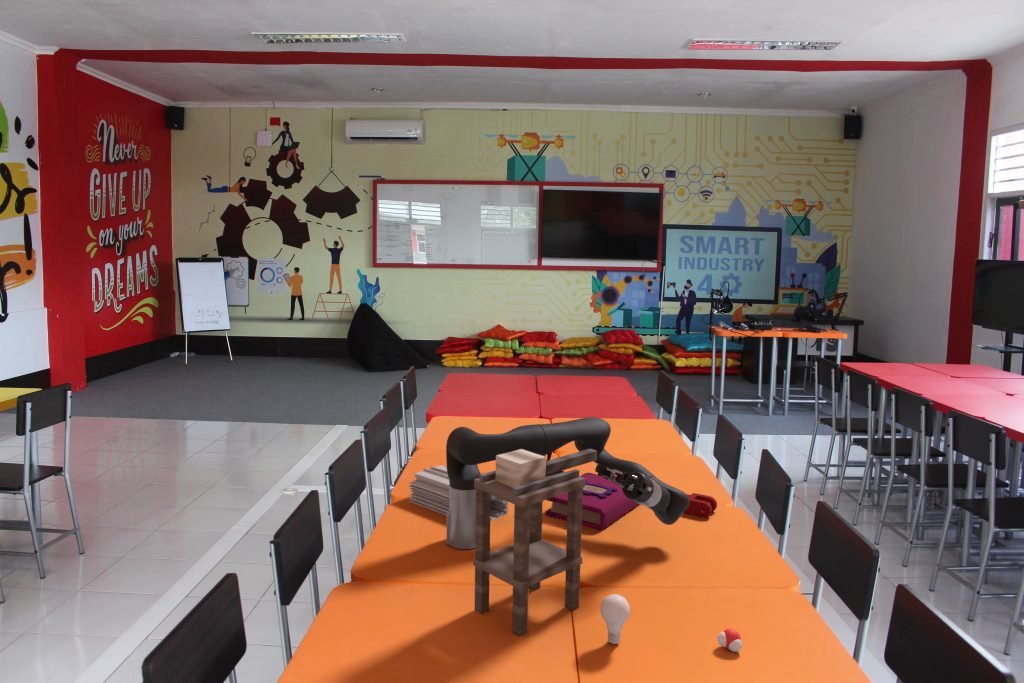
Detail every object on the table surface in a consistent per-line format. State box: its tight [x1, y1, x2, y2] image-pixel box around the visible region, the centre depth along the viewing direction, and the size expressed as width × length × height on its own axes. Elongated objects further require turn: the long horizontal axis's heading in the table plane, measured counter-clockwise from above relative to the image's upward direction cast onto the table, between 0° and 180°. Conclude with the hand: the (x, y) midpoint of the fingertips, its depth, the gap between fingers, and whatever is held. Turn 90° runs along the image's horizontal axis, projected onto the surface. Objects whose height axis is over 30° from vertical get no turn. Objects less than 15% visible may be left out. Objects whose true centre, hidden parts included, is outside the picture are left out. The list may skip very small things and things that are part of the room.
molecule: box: [716, 628, 743, 653], centre depth 162 cm, size 5×5×4 cm
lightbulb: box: [600, 593, 631, 645], centre depth 162 cm, size 6×6×11 cm
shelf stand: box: [472, 468, 585, 638], centre depth 175 cm, size 20×16×34 cm
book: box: [544, 472, 640, 531], centre depth 240 cm, size 21×28×8 cm
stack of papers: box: [408, 464, 509, 522], centre depth 240 cm, size 14×31×10 cm, turn 49°
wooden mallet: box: [495, 449, 597, 488], centre depth 177 cm, size 29×8×6 cm, turn 133°
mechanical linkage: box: [684, 492, 718, 519], centre depth 241 cm, size 16×7×5 cm, turn 59°
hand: (609, 471), depth 192 cm, fingers open, 8 cm apart
